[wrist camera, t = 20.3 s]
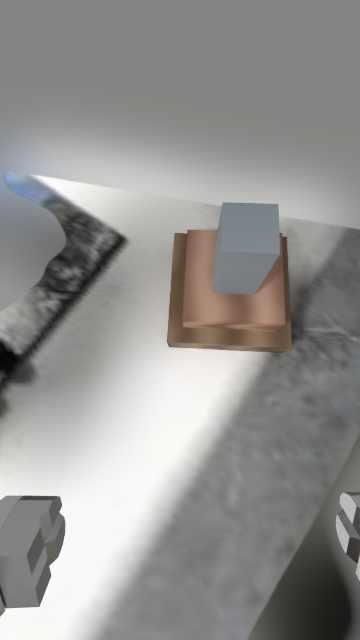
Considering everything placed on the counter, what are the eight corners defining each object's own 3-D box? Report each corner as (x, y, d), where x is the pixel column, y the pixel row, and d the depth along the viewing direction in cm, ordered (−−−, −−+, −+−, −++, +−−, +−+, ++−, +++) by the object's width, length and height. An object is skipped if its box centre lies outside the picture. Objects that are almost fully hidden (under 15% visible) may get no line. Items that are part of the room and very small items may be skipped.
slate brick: (212, 292, 34) (221, 251, 25) (213, 255, 36) (222, 202, 26) (254, 294, 34) (280, 253, 24) (253, 257, 35) (278, 204, 26)
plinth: (169, 346, 41) (164, 334, 33) (175, 247, 45) (173, 216, 37) (281, 352, 40) (303, 342, 32) (278, 251, 44) (296, 219, 37)
